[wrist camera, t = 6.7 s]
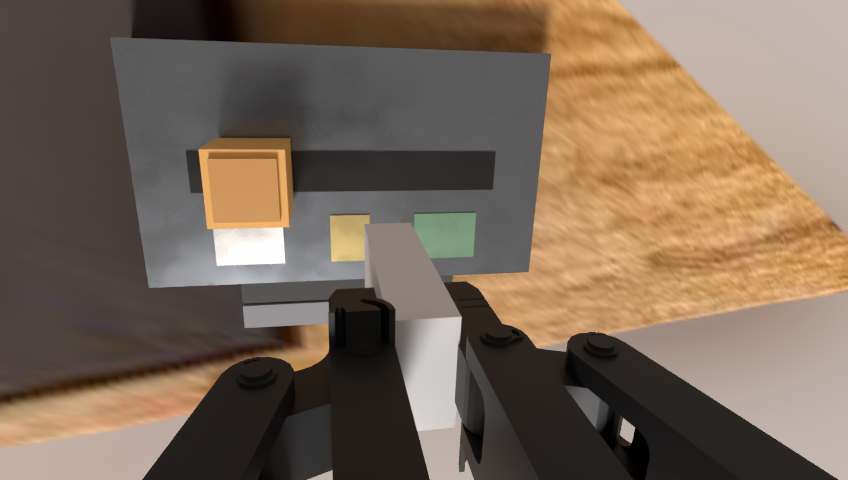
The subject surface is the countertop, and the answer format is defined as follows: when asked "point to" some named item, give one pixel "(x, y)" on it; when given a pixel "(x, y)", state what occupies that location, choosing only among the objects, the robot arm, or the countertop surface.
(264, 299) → the dark grey bar
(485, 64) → the panel
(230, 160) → the orange block
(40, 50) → the countertop surface
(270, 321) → the light grey bar
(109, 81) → the countertop surface
